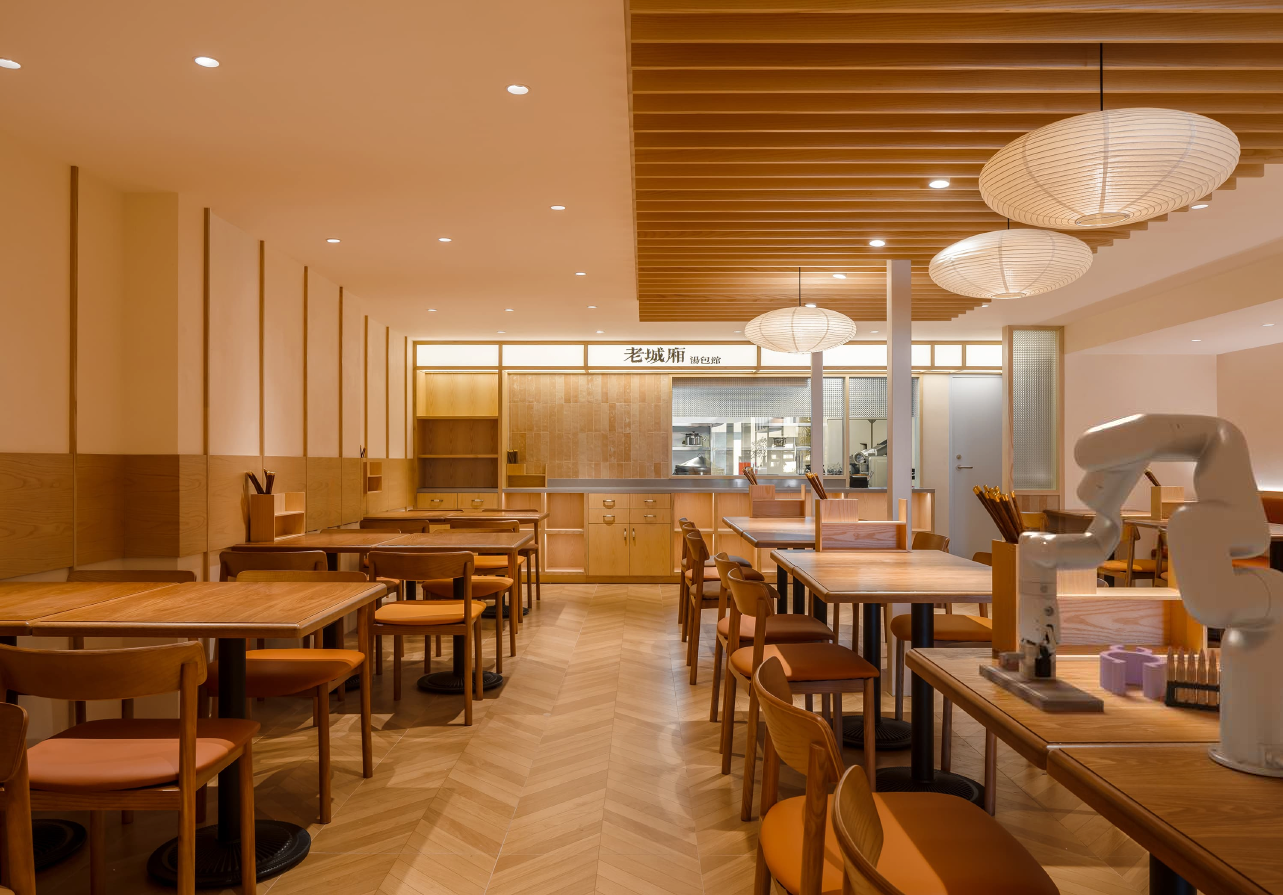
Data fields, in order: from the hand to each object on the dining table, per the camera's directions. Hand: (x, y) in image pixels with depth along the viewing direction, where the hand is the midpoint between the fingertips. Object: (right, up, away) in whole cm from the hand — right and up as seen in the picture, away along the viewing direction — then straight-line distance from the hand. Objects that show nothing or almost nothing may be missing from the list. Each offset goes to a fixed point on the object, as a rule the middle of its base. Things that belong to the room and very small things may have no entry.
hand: (1037, 673), depth 177 cm
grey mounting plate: (-2, -3, -4) cm, 5 cm away
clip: (+21, -4, +2) cm, 22 cm away
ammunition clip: (+24, -3, -15) cm, 29 cm away
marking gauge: (-2, -1, 0) cm, 2 cm away
